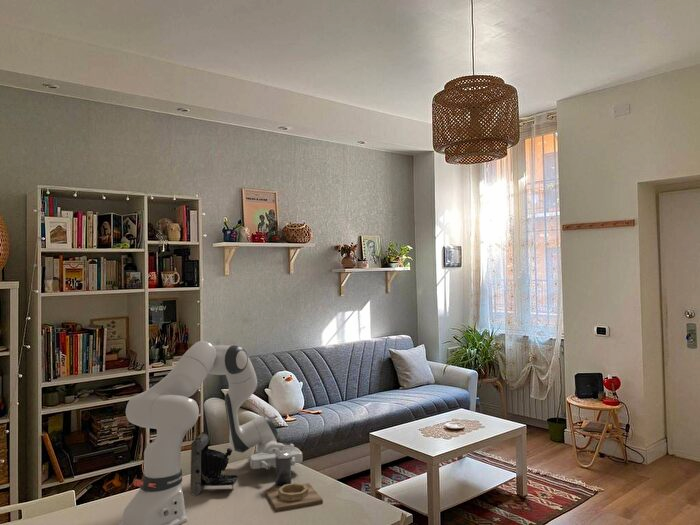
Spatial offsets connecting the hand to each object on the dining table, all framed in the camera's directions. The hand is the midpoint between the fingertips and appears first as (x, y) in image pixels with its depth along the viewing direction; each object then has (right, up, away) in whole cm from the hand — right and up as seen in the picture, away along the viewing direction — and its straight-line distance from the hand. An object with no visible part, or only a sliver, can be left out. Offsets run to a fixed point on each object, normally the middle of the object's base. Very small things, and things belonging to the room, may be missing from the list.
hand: (280, 465), depth 201 cm
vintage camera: (-23, -6, -8) cm, 25 cm away
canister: (+1, -6, -3) cm, 7 cm away
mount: (+6, -5, -16) cm, 18 cm away
